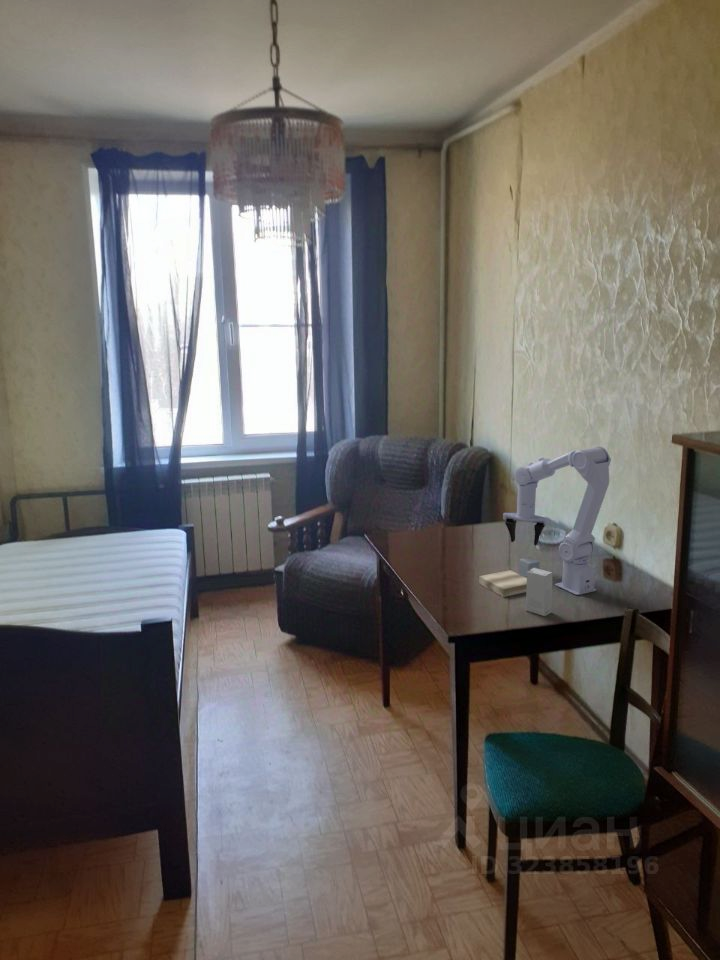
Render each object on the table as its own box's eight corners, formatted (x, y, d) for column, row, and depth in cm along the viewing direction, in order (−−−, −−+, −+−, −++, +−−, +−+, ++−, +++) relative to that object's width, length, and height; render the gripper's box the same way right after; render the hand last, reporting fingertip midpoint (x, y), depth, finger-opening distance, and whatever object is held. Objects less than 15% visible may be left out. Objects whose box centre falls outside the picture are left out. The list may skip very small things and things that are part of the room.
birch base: (534, 590, 212) (535, 582, 212) (503, 597, 207) (503, 589, 206) (509, 577, 223) (509, 570, 222) (478, 583, 217) (479, 576, 217)
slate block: (538, 576, 224) (539, 561, 223) (527, 578, 222) (528, 563, 221) (529, 571, 228) (530, 557, 227) (518, 573, 226) (519, 559, 225)
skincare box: (551, 612, 196) (554, 571, 193) (543, 617, 193) (546, 576, 190) (532, 606, 200) (534, 566, 198) (524, 611, 197) (526, 570, 194)
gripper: (551, 502, 226) (549, 542, 229) (508, 497, 232) (506, 536, 235) (546, 507, 220) (544, 548, 223) (501, 502, 226) (500, 542, 229)
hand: (524, 542), depth 229 cm, fingers open, 7 cm apart
